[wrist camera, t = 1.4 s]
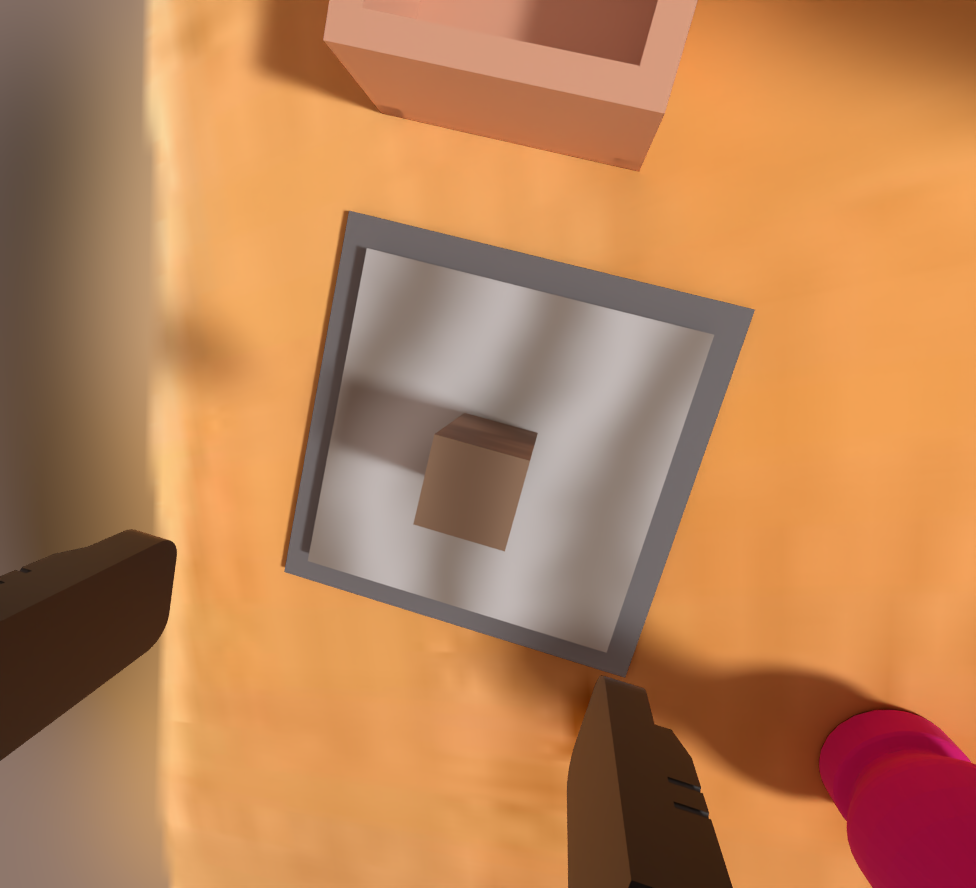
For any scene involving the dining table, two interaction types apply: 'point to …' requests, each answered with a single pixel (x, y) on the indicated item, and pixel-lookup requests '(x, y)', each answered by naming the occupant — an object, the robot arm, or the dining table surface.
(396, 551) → the lid
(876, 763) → the pepper mill
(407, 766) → the dining table surface
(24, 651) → the robot arm
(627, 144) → the pink storage bin
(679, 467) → the mat
